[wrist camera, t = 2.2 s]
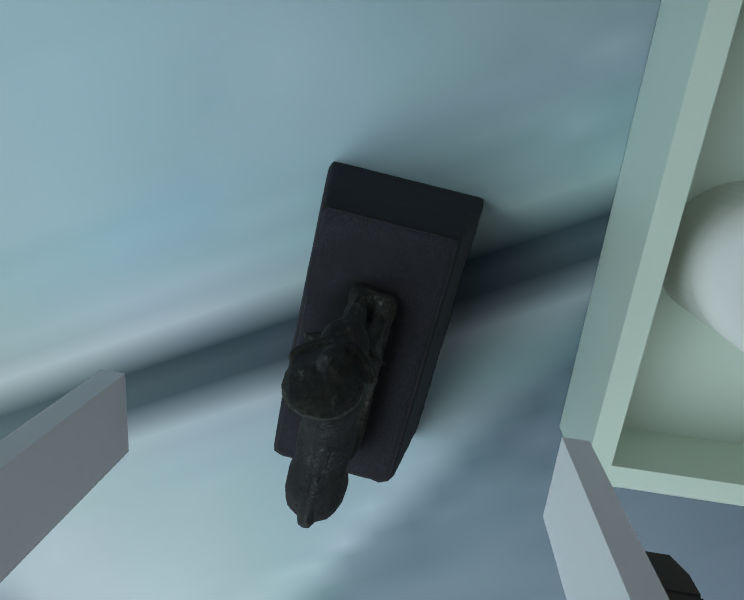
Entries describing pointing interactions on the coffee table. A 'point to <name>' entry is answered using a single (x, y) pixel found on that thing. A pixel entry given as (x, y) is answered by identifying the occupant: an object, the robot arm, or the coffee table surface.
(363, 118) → the coffee table surface
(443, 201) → the sculpture
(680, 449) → the tote
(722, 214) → the jar
